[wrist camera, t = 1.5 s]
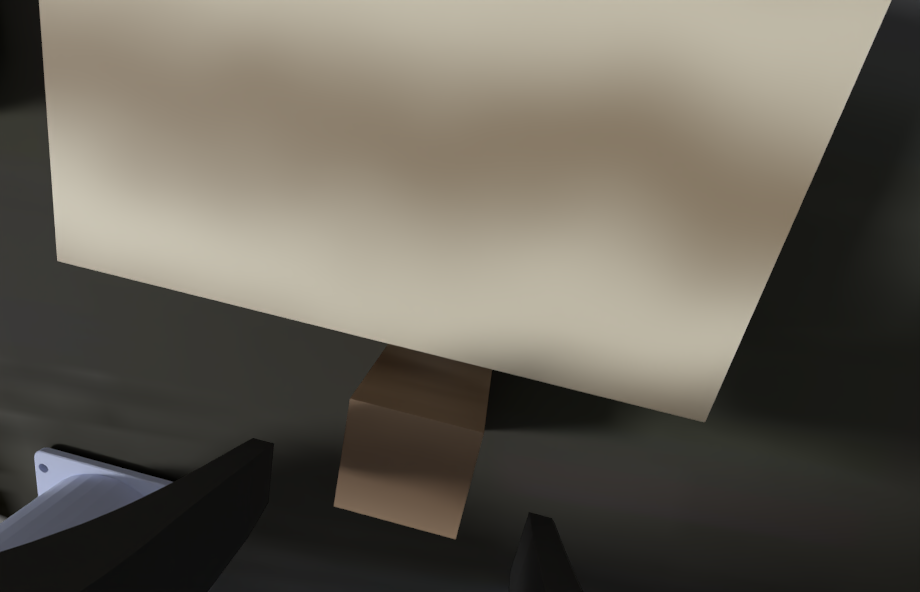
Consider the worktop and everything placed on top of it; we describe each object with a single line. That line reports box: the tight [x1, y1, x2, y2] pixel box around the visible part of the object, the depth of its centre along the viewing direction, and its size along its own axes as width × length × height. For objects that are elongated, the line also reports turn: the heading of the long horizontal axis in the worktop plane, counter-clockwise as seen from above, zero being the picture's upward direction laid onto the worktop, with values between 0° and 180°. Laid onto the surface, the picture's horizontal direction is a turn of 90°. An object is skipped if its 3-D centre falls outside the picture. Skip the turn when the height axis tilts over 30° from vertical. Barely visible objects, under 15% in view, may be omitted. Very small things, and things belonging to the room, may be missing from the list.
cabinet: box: [39, 0, 891, 422], centre depth 13 cm, size 10×17×7 cm, turn 78°
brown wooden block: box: [334, 344, 492, 539], centre depth 15 cm, size 11×9×6 cm
